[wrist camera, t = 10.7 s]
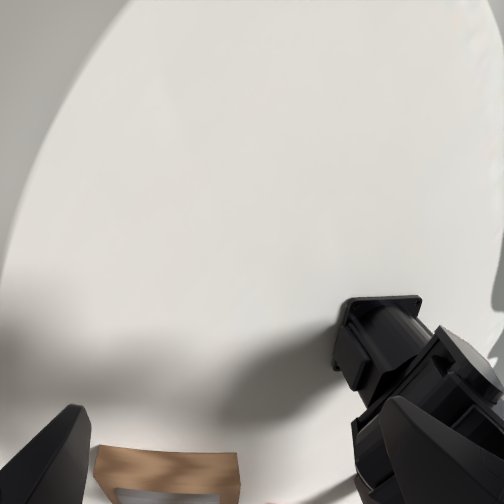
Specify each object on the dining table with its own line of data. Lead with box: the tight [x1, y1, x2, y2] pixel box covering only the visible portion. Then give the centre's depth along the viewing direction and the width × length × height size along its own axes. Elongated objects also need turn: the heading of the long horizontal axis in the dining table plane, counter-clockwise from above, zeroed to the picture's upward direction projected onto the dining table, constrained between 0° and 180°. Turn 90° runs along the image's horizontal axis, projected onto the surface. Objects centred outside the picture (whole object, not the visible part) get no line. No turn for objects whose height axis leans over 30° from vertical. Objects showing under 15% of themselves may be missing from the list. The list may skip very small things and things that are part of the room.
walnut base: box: [93, 445, 241, 504], centre depth 26 cm, size 14×14×5 cm
